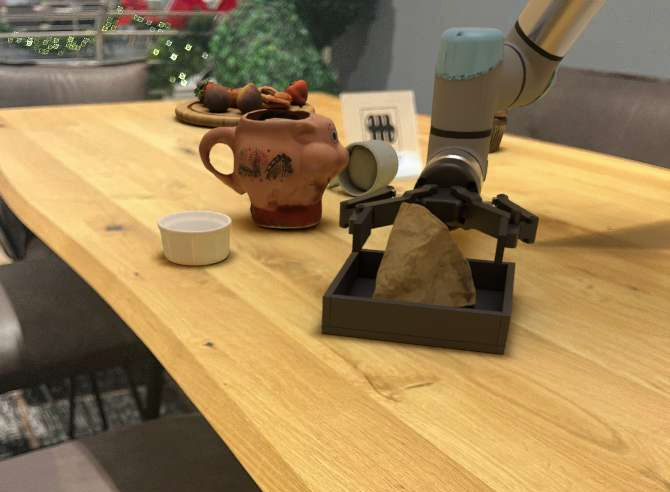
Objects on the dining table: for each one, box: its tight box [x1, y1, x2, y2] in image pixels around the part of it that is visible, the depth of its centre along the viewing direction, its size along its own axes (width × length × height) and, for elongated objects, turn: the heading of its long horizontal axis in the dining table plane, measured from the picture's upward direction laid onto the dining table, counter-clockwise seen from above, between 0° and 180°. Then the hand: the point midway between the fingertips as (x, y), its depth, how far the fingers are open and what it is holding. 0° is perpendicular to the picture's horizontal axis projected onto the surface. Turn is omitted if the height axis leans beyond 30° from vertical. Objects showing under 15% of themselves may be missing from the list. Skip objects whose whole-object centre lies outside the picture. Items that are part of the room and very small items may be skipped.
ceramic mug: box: [328, 139, 400, 197], centre depth 119 cm, size 11×8×8 cm
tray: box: [321, 248, 516, 355], centre depth 78 cm, size 18×16×4 cm
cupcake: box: [489, 109, 509, 153], centre depth 147 cm, size 10×10×10 cm
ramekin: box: [157, 210, 232, 267], centre depth 93 cm, size 9×9×4 cm
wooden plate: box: [174, 78, 316, 128], centre depth 173 cm, size 32×32×8 cm
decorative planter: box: [198, 109, 349, 229], centre depth 102 cm, size 20×12×14 cm, turn 91°
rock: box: [372, 202, 476, 307], centre depth 77 cm, size 11×9×10 cm
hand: (426, 244), depth 72 cm, fingers open, 13 cm apart
